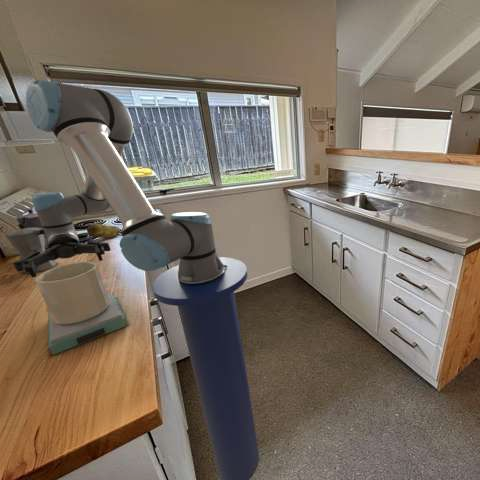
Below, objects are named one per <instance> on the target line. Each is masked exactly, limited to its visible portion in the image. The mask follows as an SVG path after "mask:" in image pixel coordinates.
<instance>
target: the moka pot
mask: <svg viewBox="0 0 480 480" xmlns="http://www.w3.org/2000/svg"><path fill="white" fill-rule="evenodd" d="M15 219H16V221H17V222H18V225H19V224H25V228H42V229H43V226H42V224H41V221H40V219H39V217H38V215H37V213H36V212H34V210H33V209H31V208H30V209H27V214H23V215H19V216H17V217H15ZM43 235H44V241H45V246H44V247H45V248H47V247H48V246H47V239H46V235H45V234H43Z"/></svg>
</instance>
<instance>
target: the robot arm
mask: <svg viewBox="0 0 480 480" xmlns="http://www.w3.org/2000/svg"><path fill="white" fill-rule="evenodd" d="M25 104H26V110H27V113H28V115H29V118H30V120H31V122H32V123H33V125H34V126H35V127H36V128H37V129H38V130H41V131H43V132H46V133H51V132H52V133H53V134H54V136H55V137H56V139H57V141H58V142H59V143H60V144H62V145H63V146H67V147H70V148H71V149H72V151H73V152H74V154H75V155H76V157H77V158H78V160H79V162H80V163H81V164H82V166H83V167H84V169H85V170H86V176H85V180H84V183H83V184H84V185H83V188H82V191H81V193H79V194H78V193H77V194H71V195H63V193H62V192H59V191H49V192H41V193H35V194H33V195H32V196H31V200H32V204H33V207H34V208H33V209H34V211H35V213H37V215H38V217H39V219H40V221H41V224H42V226H43V230H44V232H45V234H46V237H47V240H48V249H46V250H45V251H44V252H40V251H38V250H34V251H32V252H31V253H30V254H29V255H27V256H25V257H23V258H21V259H20V258H19V259H17V260H16V261H14V262H12V263H13V266H14V268H15V270H16V272H22V270H24V271H25V272H28V273H27V274H29V275H30V276H31V278H36V277H37V273H38V272H37V268H36V267H37V266H39V265H42V264H44V263H46V262H48V261H52V260H54V261H56V260H58V259H63V260H64V259H71V258H73V257H75V256H77V255H79V256H80V255H84V254H96V257H97V259H98V261H99V262H102V261H103V255H105V254H106V252H110V251H111V246H110V244H109V242H105V241H98V240H93V239H88V240H87V241H85V243H82V242H80V239H79V236H78V233H77V230H76V228H75V225H74V221H73V220H72V219H73V218H76V217H81V216H87V215H90V214H91V215H92V214H96V213H101V212H106V211H108V210H113V212H114V214H115V215H116V217H117V218H118V220H119V221H120V223H121V224H122V227H121V229H120V234H121V236H122V238H121V239H120V241H119V248H120V252H121V254H122V256H123V257H124V258H125V260H126V261H127V262H128V263H129V264H130V265H131V266H133V267H134V268H136V269H138V270H141V271H143V272H153V271H156V270H159V269H161V268H162V269H163V268H165V267H166V266H169V265H170V264H172V263H174V262H175V261H178V260H179V263H178V265H179V269H178V279H179V282H180V283H182V284H184V285H202V284H206V283H210V282H212V281H215V280H217V279H218V278H220V277H221V276H222V275H223V274H224V272H225V271H224V267H227V265H223V264H222V262H221V260H220V258H219V257H220V256H219V255H218V252H217V251H216V243H215V237H214V232H213V231H214V230H213V224H212V221H211V217H210V215H209V214H208V213H206V212H199V211H184V212H176V213H172V214H171V215H170V219H169V221H168V219H167V218H166V216H165V215H164V214H163V213H159V212H157V211H155V209H154V208H153V206H152V205H151V203H150V201H149V200H148V198H147V197H146V195H145V193H144V192H143V191H142V189H141V188H140V186H139V184H138V182H137V181H136V179H135V177H134V176H133V174H132V173H131V172H130V170H129V169H128V166H126V164H125V162H124V160H123V159H122V156H123V152H124V150H125V147H126V145H129V144H130V143H131V141H132V138H133V135H134V134H133V133H134V124H133V119H132V118H133V117H132V116H131V113H130V111H129V110H128V108H127V106H126V105H125V104H124V103H123V101H121V100H120V98H118V97H116V96H115V95H114V94H112V93H110V92H108V91H106V90H103V89H99V88H91V87H86V86H80V85H74V84H66V83H62V82H58V81H56V80H51V81H50V80H41V79H38V80H32V81H31V82H30V83H29V85H28V86H27V89H26V91H25ZM25 272H24V273H25ZM29 272H30V273H29Z"/></svg>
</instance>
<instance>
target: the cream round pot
mask: <svg viewBox="0 0 480 480" xmlns="http://www.w3.org/2000/svg"><path fill="white" fill-rule="evenodd" d="M35 283H36V285H37V287H38V289H39V292H40V294H41V296H42V298H43V300H44V303H45V305H46V307H47V309H48V311H49V312H50V314H51V316H52V318H53V320H54V322H56V323H58V324H73V323H78V322H82V321H85V320H88V319H90V318H93V317H95V316H97V315H98V314H100V313H101V312H103V311H104V310H105V309H106V308H107V307H108V306H109V304H110V300H109V298H108V295H107V292H108V291H107V290H106V287H105V284H104V281H103V278H102V275H101V272H100V270H99V266H98V264H97V262H93V261H78V262H72V263H68V264H63V265H60V266H56V267H53V268H50V269H47V270H45V271H44V272H42V273H40V274H39V275H37V276H36V277H35Z"/></svg>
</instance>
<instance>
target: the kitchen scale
mask: <svg viewBox="0 0 480 480" xmlns="http://www.w3.org/2000/svg"><path fill="white" fill-rule="evenodd" d="M106 292H107V295H108V298H109V300H110V304H109V306H108V307H107V308H106V309H105V310H104V311H103V312H101V313H100V314H98V315H97V316H95V317H93V318H90V319H88V320H85V321H82V322H78V323H73V324H58V323H56V322H54V320H53V318H52V316H51V314H50V311H49V312H48V313H47V314H48V315H47V317H48V320H47V321H48V323H47V324H48V327H47V328H48V329H47V331H48V349H49V351H50V353H51V355H52V356H54V355H57V354H60V353H61V352H64V351H68V350H69V349H72V348H75V347H77V346H79V345H82V344H84V343H87V342H90V341H92V340H94V339H95V340H96V339H97V338H100V337H102V336H104V335H107V334H109V333H112V332H114V331H117V330H119V329H122V328H125V327H127V326H128V323H127V320H126V317H125V316H124V313H123V311H122V309H121V306H120V304H119V302H118V300H117V298H116V296H115V293H114V291H113V292H112V291H111V290H109V291H106Z"/></svg>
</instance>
